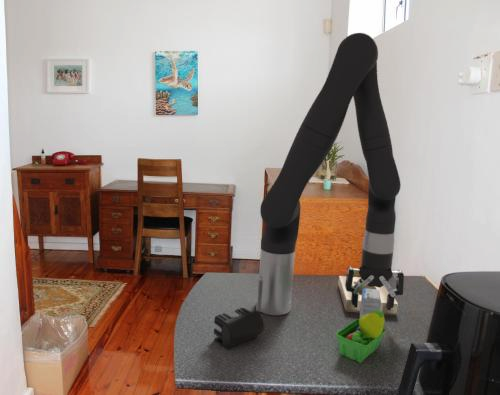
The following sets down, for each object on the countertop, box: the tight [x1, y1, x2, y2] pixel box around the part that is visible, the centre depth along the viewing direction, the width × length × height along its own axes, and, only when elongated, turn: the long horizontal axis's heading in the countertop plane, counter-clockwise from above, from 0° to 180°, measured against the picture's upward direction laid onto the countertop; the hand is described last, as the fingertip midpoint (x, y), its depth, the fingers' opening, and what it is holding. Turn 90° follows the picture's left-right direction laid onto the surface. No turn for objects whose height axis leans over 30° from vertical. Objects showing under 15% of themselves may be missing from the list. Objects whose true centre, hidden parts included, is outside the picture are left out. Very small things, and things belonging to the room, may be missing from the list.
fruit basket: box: [335, 310, 387, 363], centre depth 105 cm, size 11×9×11 cm
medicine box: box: [359, 288, 381, 319], centre depth 119 cm, size 8×4×9 cm, turn 168°
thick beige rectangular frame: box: [337, 275, 399, 317], centre depth 135 cm, size 14×18×4 cm
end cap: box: [213, 307, 265, 349], centre depth 107 cm, size 10×7×7 cm
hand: (371, 307), depth 118 cm, fingers open, 8 cm apart
